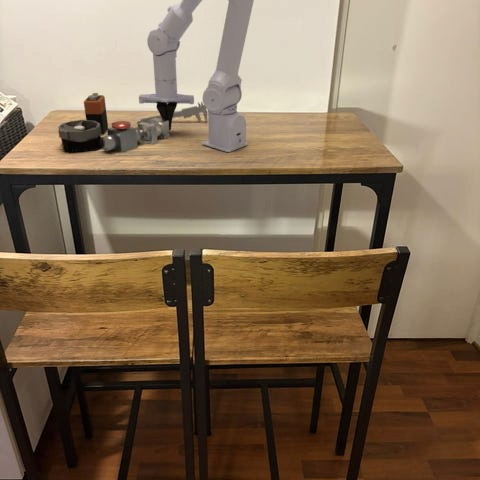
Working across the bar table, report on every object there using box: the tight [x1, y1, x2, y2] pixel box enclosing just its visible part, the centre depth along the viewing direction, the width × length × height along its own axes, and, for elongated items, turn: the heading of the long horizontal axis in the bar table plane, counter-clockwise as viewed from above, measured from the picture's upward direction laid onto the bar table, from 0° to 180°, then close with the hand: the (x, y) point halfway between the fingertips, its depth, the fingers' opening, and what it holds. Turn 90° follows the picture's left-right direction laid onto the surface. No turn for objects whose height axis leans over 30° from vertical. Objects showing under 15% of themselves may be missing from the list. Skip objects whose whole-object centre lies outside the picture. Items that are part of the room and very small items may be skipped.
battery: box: [83, 92, 109, 135], centre depth 133 cm, size 4×7×10 cm, turn 3°
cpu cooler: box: [57, 119, 103, 154], centre depth 123 cm, size 10×6×10 cm
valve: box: [100, 120, 144, 153], centre depth 123 cm, size 11×5×6 cm, turn 140°
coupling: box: [137, 118, 170, 145], centre depth 130 cm, size 7×5×5 cm, turn 147°
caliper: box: [136, 101, 208, 124], centre depth 143 cm, size 21×1×6 cm, turn 96°
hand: (168, 129), depth 134 cm, fingers closed
